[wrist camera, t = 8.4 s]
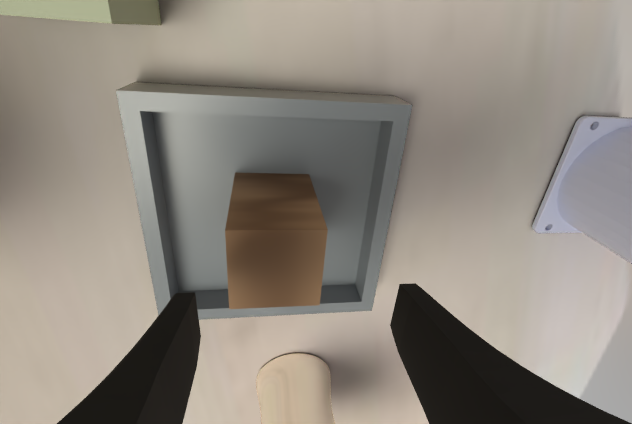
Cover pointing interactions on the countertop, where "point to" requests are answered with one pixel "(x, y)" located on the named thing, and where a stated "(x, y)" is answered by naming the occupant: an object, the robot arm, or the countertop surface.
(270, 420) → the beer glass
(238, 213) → the walnut block
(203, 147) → the grey tray
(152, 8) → the olive block
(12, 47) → the countertop surface
